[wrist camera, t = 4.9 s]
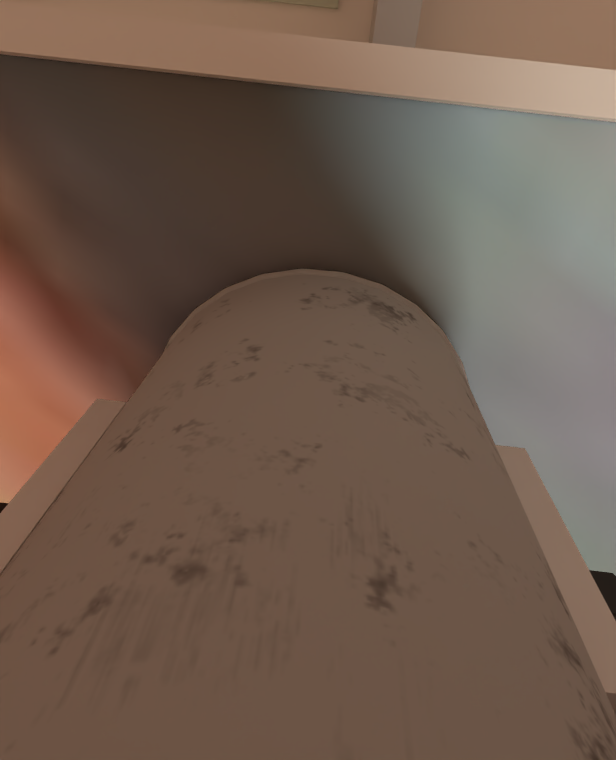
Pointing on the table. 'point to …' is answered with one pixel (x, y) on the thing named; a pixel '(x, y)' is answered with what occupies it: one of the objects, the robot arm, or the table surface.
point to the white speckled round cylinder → (295, 558)
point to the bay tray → (347, 46)
